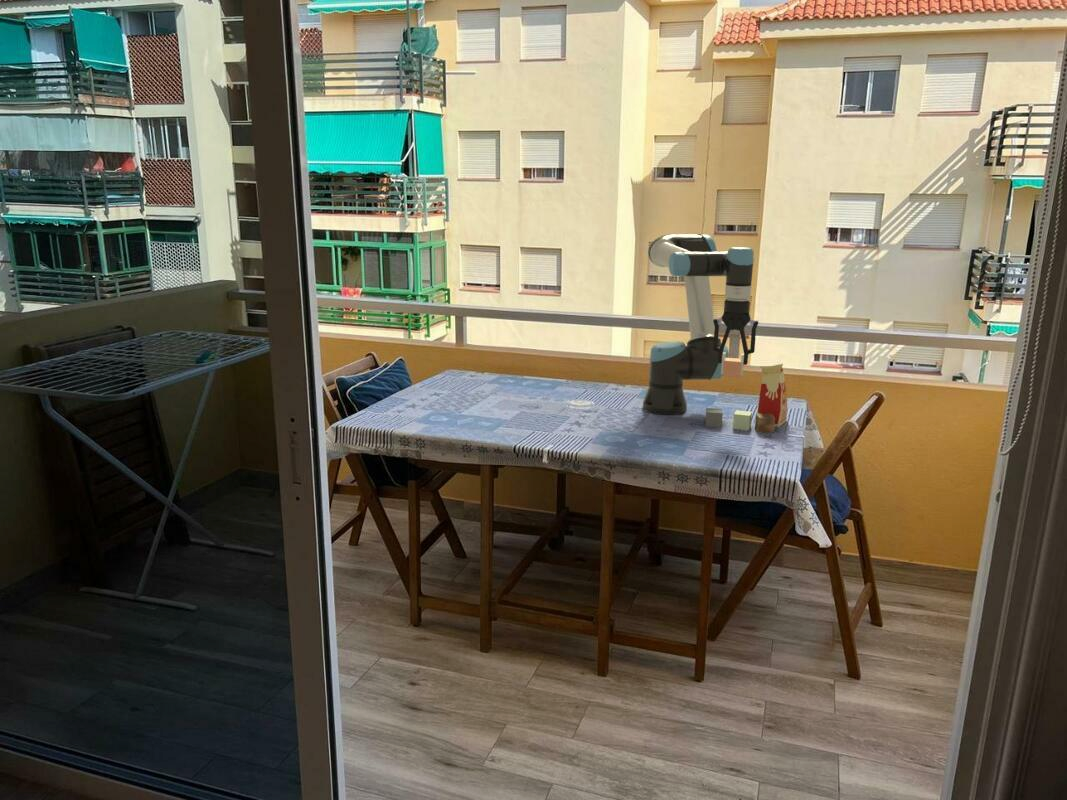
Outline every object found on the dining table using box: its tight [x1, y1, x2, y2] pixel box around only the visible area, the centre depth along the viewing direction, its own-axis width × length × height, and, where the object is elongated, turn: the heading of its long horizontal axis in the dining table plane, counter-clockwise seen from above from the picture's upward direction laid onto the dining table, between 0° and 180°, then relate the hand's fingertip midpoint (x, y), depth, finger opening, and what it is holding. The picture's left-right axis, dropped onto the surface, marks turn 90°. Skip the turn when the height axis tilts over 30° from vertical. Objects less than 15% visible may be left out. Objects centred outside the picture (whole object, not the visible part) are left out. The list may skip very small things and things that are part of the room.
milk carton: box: [755, 363, 788, 428], centre depth 254 cm, size 9×9×20 cm
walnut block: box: [754, 412, 776, 434], centre depth 247 cm, size 5×5×5 cm
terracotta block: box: [722, 357, 741, 379], centre depth 241 cm, size 5×5×5 cm
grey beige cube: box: [704, 407, 724, 429], centre depth 252 cm, size 5×5×5 cm
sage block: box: [732, 409, 753, 431], centre depth 250 cm, size 5×5×5 cm
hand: (731, 373), depth 241 cm, fingers closed on terracotta block, 5 cm apart
